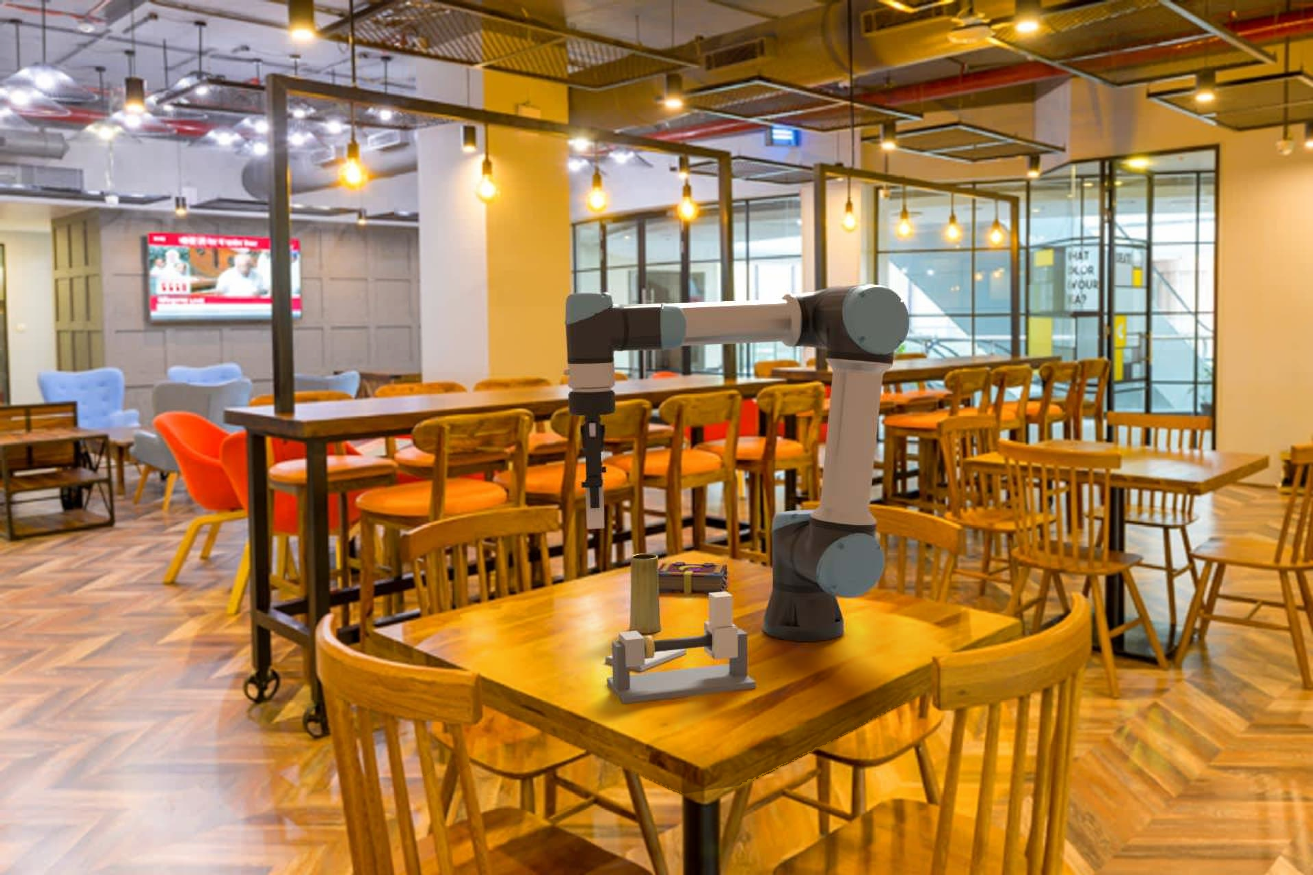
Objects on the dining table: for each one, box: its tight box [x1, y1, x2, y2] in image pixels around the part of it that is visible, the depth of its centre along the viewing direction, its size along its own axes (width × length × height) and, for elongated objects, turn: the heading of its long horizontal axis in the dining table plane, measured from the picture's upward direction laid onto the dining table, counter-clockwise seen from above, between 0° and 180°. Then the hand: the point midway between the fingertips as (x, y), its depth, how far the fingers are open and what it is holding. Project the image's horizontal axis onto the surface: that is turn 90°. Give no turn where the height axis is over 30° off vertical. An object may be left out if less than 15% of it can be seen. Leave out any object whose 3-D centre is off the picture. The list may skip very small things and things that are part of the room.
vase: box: [629, 553, 662, 635], centre depth 210 cm, size 6×6×14 cm
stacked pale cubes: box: [703, 591, 739, 661], centre depth 179 cm, size 4×5×10 cm
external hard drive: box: [604, 649, 687, 673], centre depth 193 cm, size 2×8×12 cm
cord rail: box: [606, 628, 757, 704], centre depth 178 cm, size 22×10×9 cm, turn 107°
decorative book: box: [658, 561, 731, 595], centre depth 243 cm, size 11×16×5 cm
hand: (595, 520), depth 179 cm, fingers open, 13 cm apart
